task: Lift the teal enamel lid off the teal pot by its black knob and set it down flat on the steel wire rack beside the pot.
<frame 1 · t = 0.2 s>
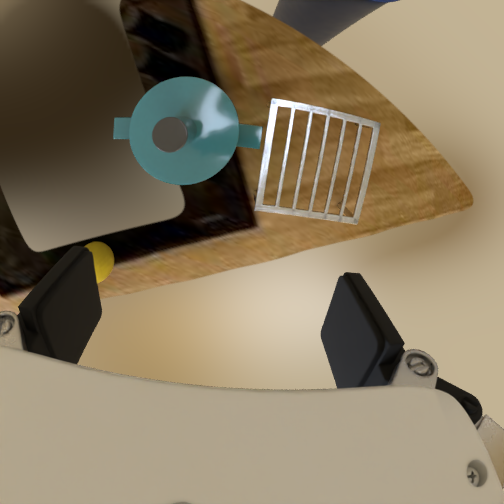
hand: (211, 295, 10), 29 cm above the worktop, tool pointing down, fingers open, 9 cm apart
rack: (307, 156, 37), on the worktop
lid: (182, 130, 27), point 8 cm above the worktop, touching pot
pot: (194, 126, 34), on the worktop
lemon: (105, 249, 41), on the worktop
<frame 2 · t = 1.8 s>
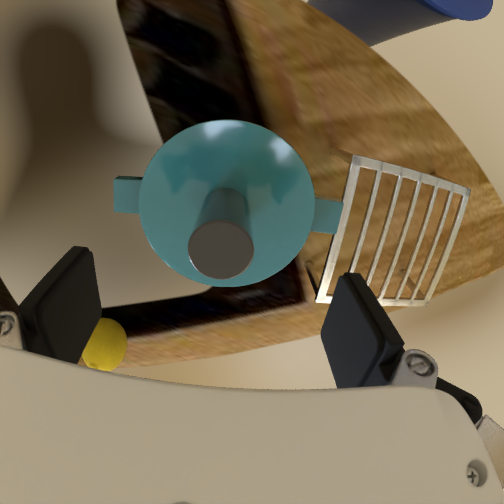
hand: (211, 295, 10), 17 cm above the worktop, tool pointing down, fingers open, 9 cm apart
rack: (374, 219, 28), on the worktop
lid: (225, 208, 18), point 8 cm above the worktop, touching pot
pot: (229, 178, 26), on the worktop
lemon: (114, 321, 33), on the worktop
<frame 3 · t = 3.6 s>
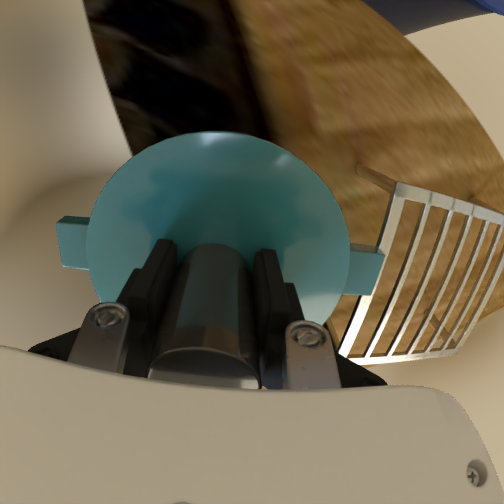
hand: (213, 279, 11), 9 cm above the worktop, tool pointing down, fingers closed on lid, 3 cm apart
rack: (403, 253, 22), on the worktop
lid: (214, 270, 12), point 9 cm above the worktop, touching gripper, pot
pot: (223, 206, 20), on the worktop
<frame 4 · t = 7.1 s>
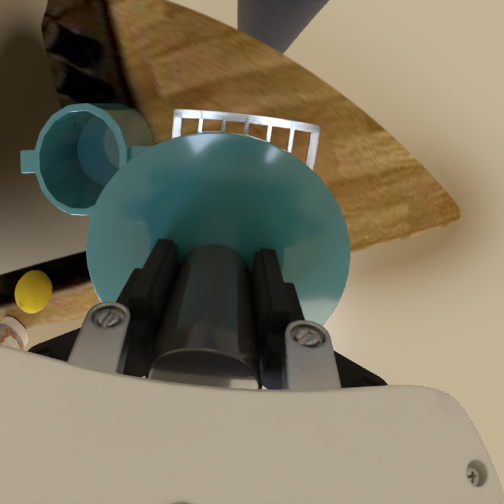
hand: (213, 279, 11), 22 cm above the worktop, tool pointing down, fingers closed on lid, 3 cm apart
bath foam: (16, 328, 41), on the worktop
rack: (239, 172, 31), on the worktop
lid: (214, 271, 12), point 22 cm above the worktop, touching gripper
pot: (111, 147, 29), on the worktop
lemon: (47, 276, 36), on the worktop
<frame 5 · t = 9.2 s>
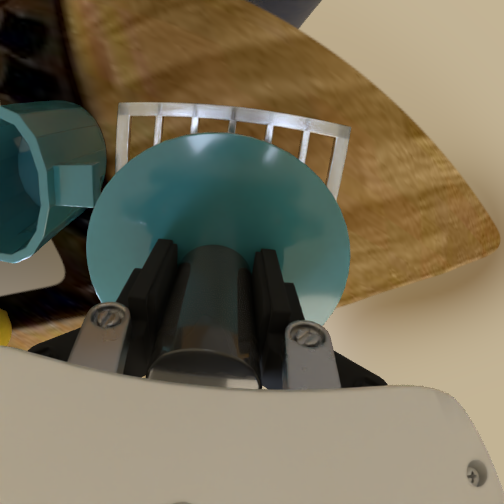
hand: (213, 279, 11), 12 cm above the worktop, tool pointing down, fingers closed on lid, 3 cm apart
rack: (225, 192, 22), on the worktop
lid: (214, 271, 12), point 11 cm above the worktop, touching gripper
pot: (56, 160, 20), on the worktop
lemon: (6, 311, 27), on the worktop
when the fingers open (7 cm above the worktop, at t = 10.5 s): lid stays where it is, resting on rack.
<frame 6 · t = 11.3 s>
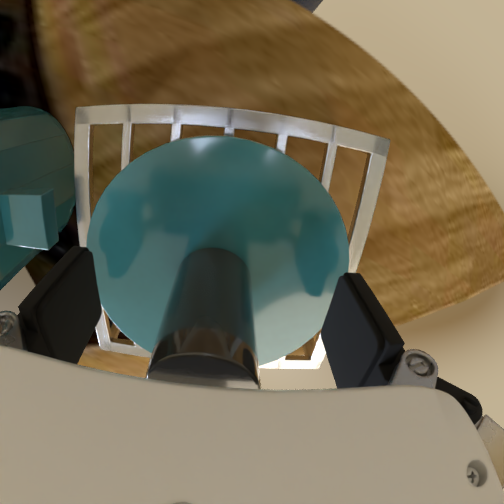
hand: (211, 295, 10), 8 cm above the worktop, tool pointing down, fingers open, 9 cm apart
rack: (221, 217, 18), on the worktop
lid: (214, 274, 12), point 7 cm above the worktop, touching rack
pot: (23, 177, 16), on the worktop
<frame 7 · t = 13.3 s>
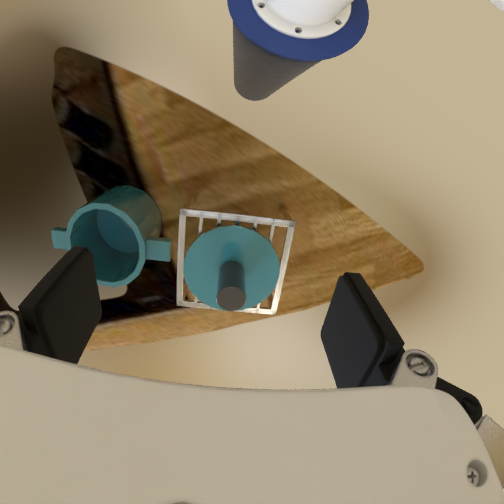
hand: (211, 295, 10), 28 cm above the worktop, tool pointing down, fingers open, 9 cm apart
rack: (231, 245, 40), on the worktop
lid: (231, 270, 34), point 7 cm above the worktop, touching rack
pot: (126, 221, 38), on the worktop
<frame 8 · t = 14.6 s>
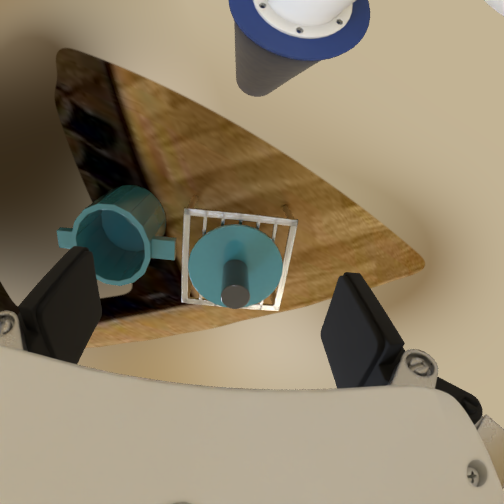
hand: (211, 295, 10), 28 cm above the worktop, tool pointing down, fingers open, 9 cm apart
rack: (235, 243, 41), on the worktop
lid: (235, 268, 35), point 7 cm above the worktop, touching rack
pot: (131, 220, 38), on the worktop
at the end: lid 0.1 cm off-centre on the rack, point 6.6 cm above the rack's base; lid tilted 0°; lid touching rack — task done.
